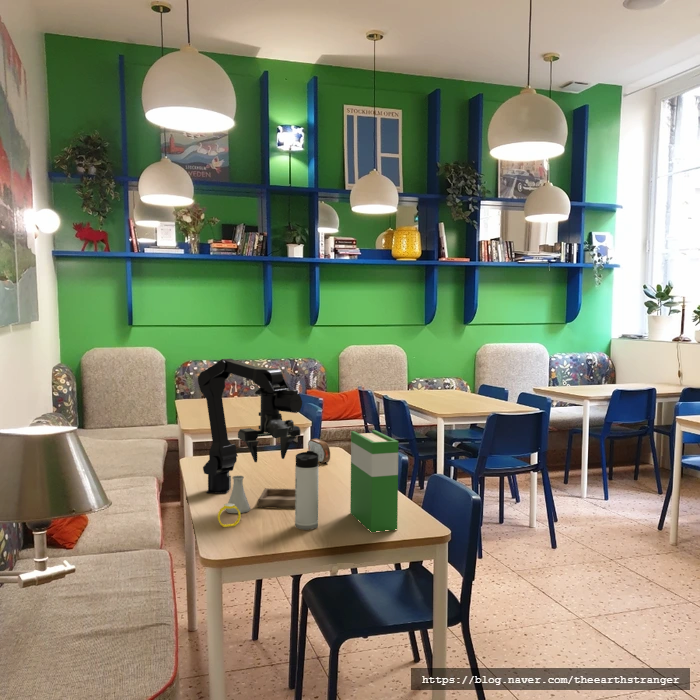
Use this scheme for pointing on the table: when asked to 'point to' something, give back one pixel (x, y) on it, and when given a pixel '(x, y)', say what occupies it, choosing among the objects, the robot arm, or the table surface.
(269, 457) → the table surface
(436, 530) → the table surface
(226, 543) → the table surface
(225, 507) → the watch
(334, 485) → the table surface
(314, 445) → the tin
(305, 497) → the travel mug
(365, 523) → the hardback book
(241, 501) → the flask
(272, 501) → the tray
